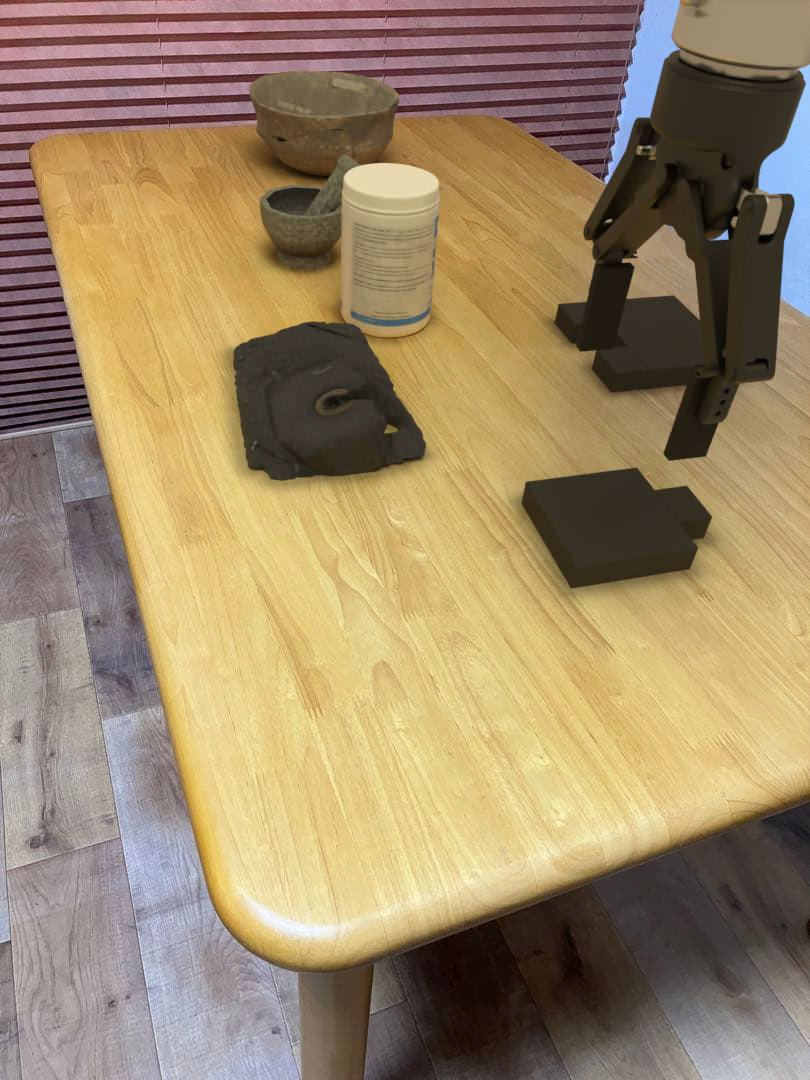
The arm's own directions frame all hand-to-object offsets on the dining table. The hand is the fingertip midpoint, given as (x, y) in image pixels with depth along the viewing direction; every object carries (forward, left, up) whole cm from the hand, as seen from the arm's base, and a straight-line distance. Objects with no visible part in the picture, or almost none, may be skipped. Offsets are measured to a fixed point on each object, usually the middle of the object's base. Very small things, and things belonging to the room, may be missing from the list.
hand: (635, 397), depth 61 cm
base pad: (-17, -26, -13) cm, 33 cm away
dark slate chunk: (+18, -22, -13) cm, 31 cm away
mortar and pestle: (+13, -52, -13) cm, 55 cm away
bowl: (+5, -82, -13) cm, 83 cm away
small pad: (-2, 0, -13) cm, 13 cm away
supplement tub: (+8, -37, -13) cm, 40 cm away
